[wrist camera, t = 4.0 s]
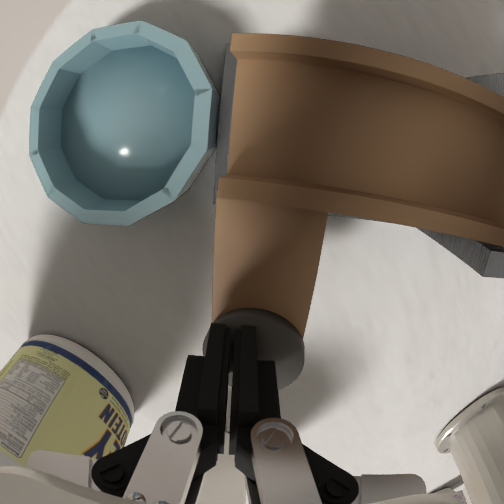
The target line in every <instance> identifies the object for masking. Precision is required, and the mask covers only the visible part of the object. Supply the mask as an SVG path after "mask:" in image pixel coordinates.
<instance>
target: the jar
mask: <svg viewBox="0 0 504 504" xmlns="http://www.w3.org/2000/svg"><path fill="white" fill-rule="evenodd" d="M229 435H230V434H229V433H227V432H225V443H224V454H218V460H217V461H216V466H214V467H213V468H211V469H210V470H208V471H207V472H206V477H205V481H204V484H203V488H202V491H201V495H200V498H199V502H198V504H246V484H245V479H244V474H243V473H242V472H241V471H239V470H238V469H237V468H236V467H235V462H234V458H235V455H229Z"/></svg>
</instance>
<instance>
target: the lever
mask: <svg viewBox="0 0 504 504" xmlns="http://www.w3.org/2000/svg"><path fill="white" fill-rule="evenodd" d="M230 52H231V53H232V54H233V55H234V56H235V57H236V59H237V67H236V77H235V87H234V98H233V109H232V120H231V131H230V144H229V156H228V169H227V174H226V175H223V176H221V177H219V182H218V191H217V199H216V217H215V237H214V261H213V291H212V323H221V324H226V328H231V338H230V359H229V380H228V385H230V386H232V377H233V359H234V343H235V328H237V329H241V325H250V326H256V344H257V360H269V361H275V366H276V376H277V386H278V390H279V389H281V388H284V387H286V386H288V385H289V384H292V382H293V381H294V380H295V379H296V378H297V377H298V376H299V374H300V373H301V371H302V368H303V365H304V342H303V336H304V332H305V328H306V323H307V319H308V314H309V310H310V305H311V300H312V295H313V291H314V286H315V281H316V276H317V271H318V265H319V260H320V255H321V249H322V244H323V238H324V232H325V226H326V220H327V214H328V212H330V213H336V214H343V215H349V216H355V217H361V218H367V219H373V220H379V221H384V222H390V223H395V224H401V225H406V226H411V227H416V228H421V229H426V230H431V231H436V232H441V233H446V234H451V235H455V236H460V237H464V238H469V239H473V240H478V241H482V242H486V243H490V244H494V245H499V246H503V247H504V97H503V96H501V95H499V94H497V93H495V92H493V91H491V90H489V89H487V88H485V87H483V86H481V85H479V84H477V83H475V82H472V81H470V80H468V79H466V78H463V77H461V76H458V75H456V74H454V73H451V72H448V71H446V70H443V69H441V68H438V67H435V66H432V65H429V64H426V63H423V62H420V61H417V60H414V59H411V58H408V57H404V56H401V55H397V54H394V53H390V52H386V51H382V50H378V49H374V48H369V47H365V46H360V45H355V44H350V43H345V42H339V41H333V40H326V39H319V38H311V37H302V36H292V35H278V34H257V33H232V37H231V46H230ZM209 331H210V329H209ZM209 331H208V333H207V335H206V337H205V339H204V342H203V356H205V355H206V349H207V343H208V337H209Z"/></svg>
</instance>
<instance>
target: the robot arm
mask: <svg viewBox="0 0 504 504" xmlns="http://www.w3.org/2000/svg"><path fill="white" fill-rule="evenodd" d="M230 338H231V328H226V324H221V323H211V326H210V331H209V337H208V343H207V349H206V355H205V356H195V355H188V357H187V361H186V365H185V370H184V374H183V378H182V383H181V387H180V392H179V396H178V401H177V405H176V410H175V412H170V413H167V414H165V415H163V416H162V417H161V418H159V420H158V421H157V423H156V425H155V427H154V429H153V431H152V433H151V434H150V435H148V436H146V437H144V438H142V439H140V440H138V441H136V442H134V443H132V444H130V445H128V446H125V447H123V448H121V449H119V450H117V451H115V452H113V453H110V454H108V455H106V456H104V457H102V458H100V459H99V460H98V459H91V458H90V457H88V456H79V455H71V454H64V453H58V452H52V451H46V450H37V451H34V452H33V453H32V454H31V455H30V456H29V458H28V460H27V465H26V467H19V466H2V467H0V504H198V502H199V498H200V495H201V491H202V488H203V484H204V481H205V477H206V472H207V471H208V470H210V469H211V468H213V467H214V466H216V461H217V460H218V454H224V443H225V427H226V411H227V395H228V380H229V359H230ZM436 448H437V450H438V452H440V453H449V452H451V453H452V455H453V458H454V460H455V462H456V465H457V467H458V469H459V472H460V474H461V477H462V479H463V482H464V484H465V487H466V489H467V492H468V494H469V497H470V500H471V503H472V504H504V387H501V388H498V389H496V390H494V391H491V392H490V393H488V394H486V395H484V396H483V397H481V398H480V399H478V400H477V401H475V402H474V403H473V404H471V405H470V406H469V407H467V408H466V409H465V410H464V411H463V412H461V413H460V414H459V415H458V416H457V417H456V418H454V419H453V420H452V421H451V422H450V423H449V424H448V425H447V426H446V427H445V429H444V430H443V431H442V432H441V434H440V435H439V436H438V438H437V440H436ZM229 455H235V458H234V462H235V467H236V468H237V469H238V470H239V471H241V472H242V473H243V474H244V479H245V484H246V490H247V495H248V500H249V504H463V503H462V502H461V501H460V500H458V499H457V498H455V497H453V496H450V495H445V494H434V493H432V494H426V486H425V482H424V481H423V479H422V478H421V477H419V476H417V475H415V474H394V475H364V474H362V475H361V476H352V475H351V474H350V473H348V472H346V471H344V470H343V469H341V468H339V467H338V466H336V465H334V464H333V463H331V462H330V461H328V460H326V459H325V458H323V457H322V456H320V455H318V454H317V453H315V452H314V451H312V450H311V449H309V448H308V447H306V446H305V445H303V444H302V443H301V440H300V437H299V434H298V431H297V430H296V428H295V426H293V425H292V424H291V423H290V422H288V421H286V420H284V419H281V416H280V406H279V396H278V386H277V376H276V366H275V361H269V360H257V344H256V326H250V325H241V329H237V328H235V343H234V359H233V377H232V395H231V415H230V435H229Z"/></svg>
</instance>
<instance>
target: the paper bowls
mask: <svg viewBox="0 0 504 504" xmlns="http://www.w3.org/2000/svg"><path fill="white" fill-rule="evenodd" d="M434 494H445V495H450V496H453V497H455V498H457V499H458V500H460V501H461V502H462V503H463V504H467V502H466V499H465V497H464V495H463V492H462V490H461V491H458V492H455V491H454V490H453V489H451V488H444V489H441V490H439V491H436V492H434Z"/></svg>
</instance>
